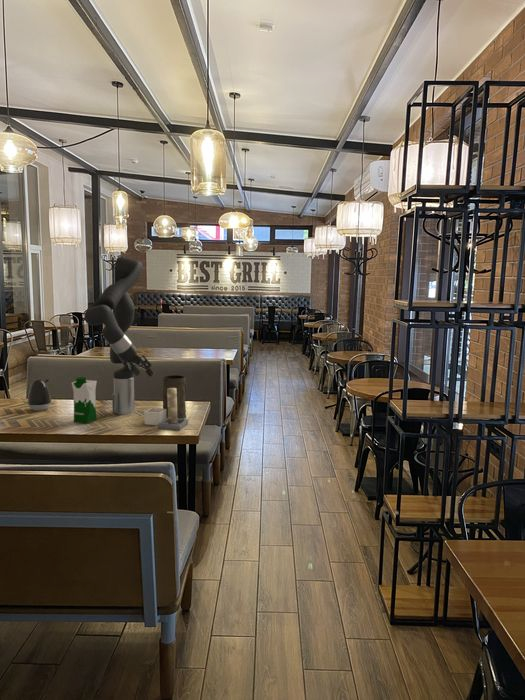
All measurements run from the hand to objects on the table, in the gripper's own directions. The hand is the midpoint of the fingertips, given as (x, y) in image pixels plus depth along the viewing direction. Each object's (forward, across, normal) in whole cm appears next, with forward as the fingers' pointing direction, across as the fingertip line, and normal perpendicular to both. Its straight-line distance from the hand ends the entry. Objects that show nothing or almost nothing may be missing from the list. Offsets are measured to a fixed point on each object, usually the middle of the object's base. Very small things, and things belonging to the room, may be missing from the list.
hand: (144, 374), depth 202 cm
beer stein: (+32, +6, -3) cm, 33 cm away
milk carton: (+11, +32, +20) cm, 39 cm away
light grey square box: (+23, +5, +8) cm, 25 cm away
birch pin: (+24, -5, +7) cm, 25 cm away
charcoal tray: (+25, -4, +7) cm, 26 cm away
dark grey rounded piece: (+7, +64, +21) cm, 68 cm away
